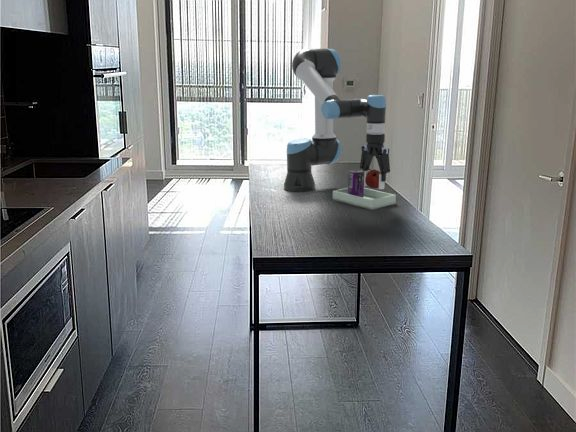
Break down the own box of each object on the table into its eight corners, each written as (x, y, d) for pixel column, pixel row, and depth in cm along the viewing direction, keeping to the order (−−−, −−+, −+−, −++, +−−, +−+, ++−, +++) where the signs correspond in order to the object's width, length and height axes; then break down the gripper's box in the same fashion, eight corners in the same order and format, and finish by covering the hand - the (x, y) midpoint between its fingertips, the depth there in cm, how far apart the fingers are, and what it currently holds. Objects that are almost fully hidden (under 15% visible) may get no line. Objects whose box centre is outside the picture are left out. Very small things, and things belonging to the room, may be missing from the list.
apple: (363, 189, 236) (363, 170, 234) (367, 185, 243) (367, 167, 241) (380, 190, 233) (381, 171, 231) (384, 186, 240) (385, 168, 238)
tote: (332, 199, 249) (332, 190, 248) (356, 194, 258) (356, 185, 257) (371, 209, 231) (371, 200, 230) (395, 203, 240) (395, 194, 239)
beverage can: (364, 199, 245) (364, 172, 241) (347, 199, 245) (348, 172, 242) (363, 195, 251) (364, 169, 248) (347, 195, 252) (348, 169, 249)
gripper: (351, 131, 237) (350, 184, 243) (388, 136, 222) (386, 192, 228) (364, 130, 242) (363, 182, 248) (400, 134, 226) (398, 190, 232)
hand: (374, 187), depth 238 cm, fingers closed on apple, 8 cm apart
